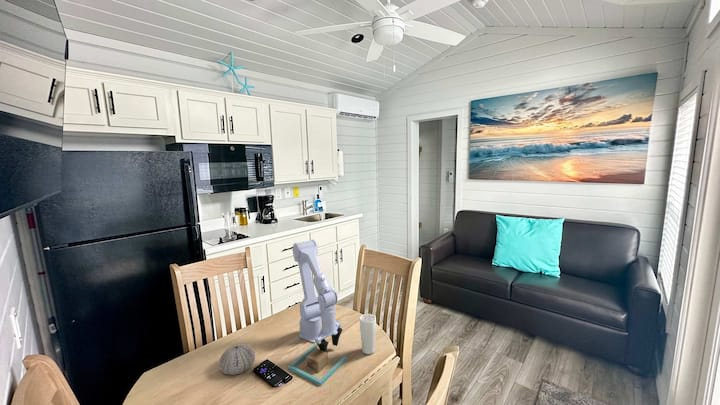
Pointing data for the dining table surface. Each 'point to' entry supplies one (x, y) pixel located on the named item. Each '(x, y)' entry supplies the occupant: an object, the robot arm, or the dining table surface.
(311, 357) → the walnut block
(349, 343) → the dining table surface
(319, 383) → the frame
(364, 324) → the white cup
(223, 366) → the sea urchin shell
